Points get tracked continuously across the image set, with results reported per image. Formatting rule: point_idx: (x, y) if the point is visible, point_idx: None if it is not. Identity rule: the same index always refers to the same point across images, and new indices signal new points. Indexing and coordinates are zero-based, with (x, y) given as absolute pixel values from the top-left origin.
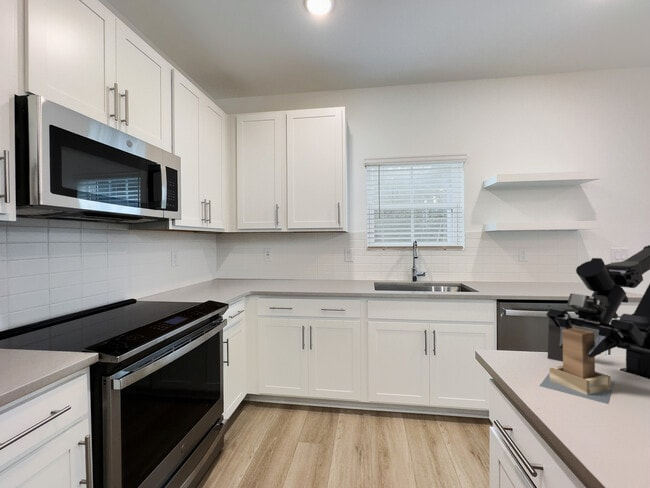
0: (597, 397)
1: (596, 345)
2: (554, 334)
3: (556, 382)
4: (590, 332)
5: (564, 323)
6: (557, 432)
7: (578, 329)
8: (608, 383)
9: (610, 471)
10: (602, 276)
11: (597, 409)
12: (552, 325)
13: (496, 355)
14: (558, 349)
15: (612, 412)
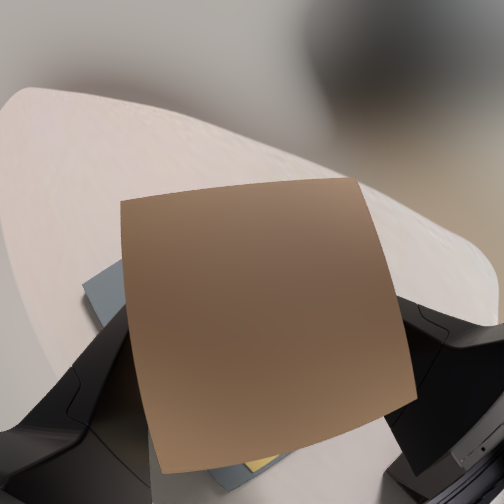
0: (120, 298)
1: (90, 349)
2: None
3: None
4: (167, 424)
5: (496, 335)
6: (83, 97)
7: (345, 394)
8: None
9: (15, 104)
10: None
11: (94, 251)
12: None
13: (476, 288)
14: (450, 456)
15: (71, 276)
